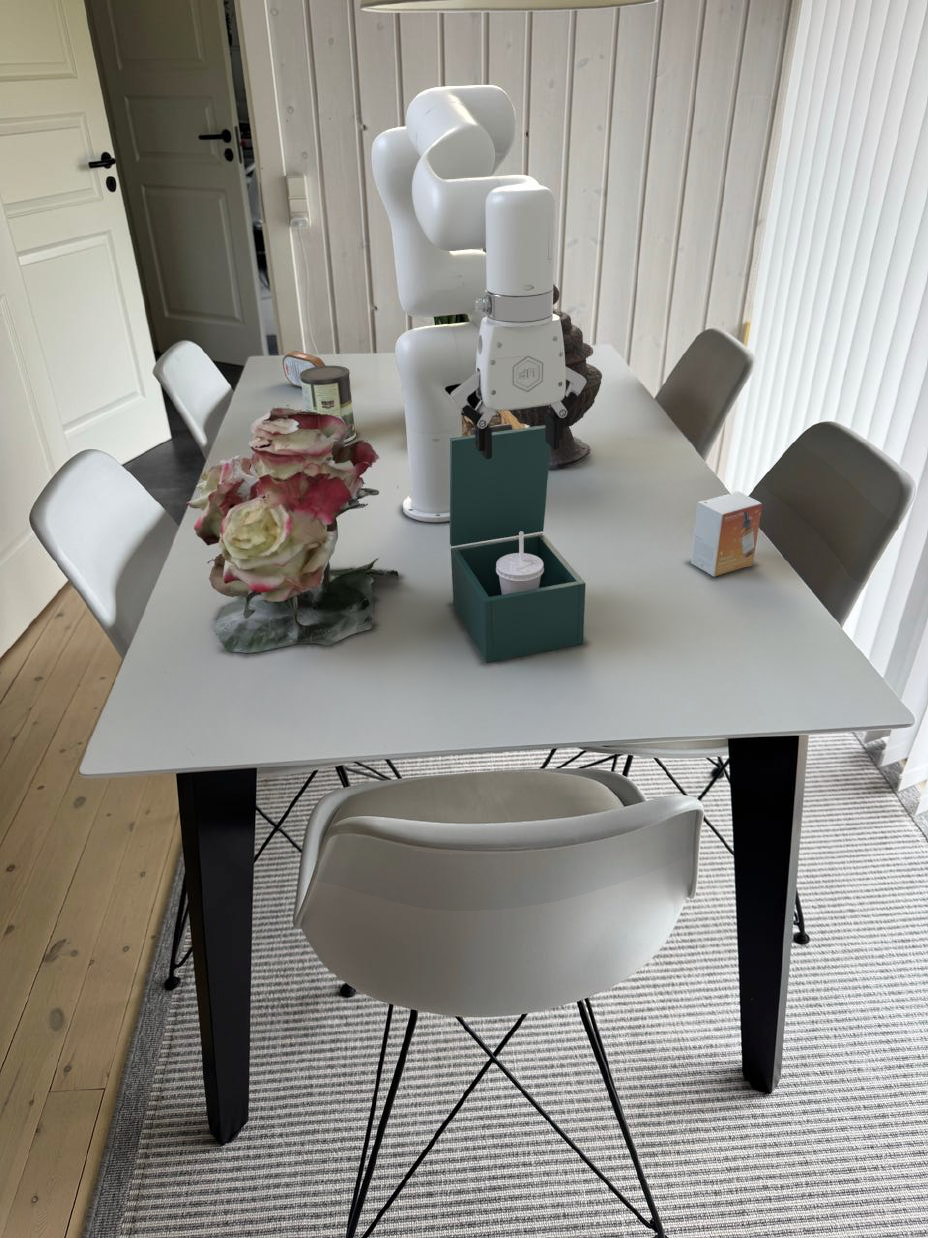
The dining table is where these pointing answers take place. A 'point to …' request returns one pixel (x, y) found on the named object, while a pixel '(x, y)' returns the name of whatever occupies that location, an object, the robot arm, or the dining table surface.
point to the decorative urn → (576, 361)
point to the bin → (517, 600)
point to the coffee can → (329, 394)
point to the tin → (299, 365)
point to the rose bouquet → (287, 533)
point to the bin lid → (498, 485)
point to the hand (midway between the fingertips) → (519, 449)
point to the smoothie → (519, 570)
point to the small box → (725, 533)
